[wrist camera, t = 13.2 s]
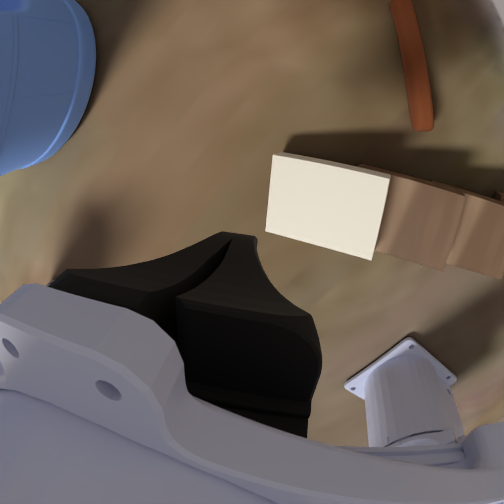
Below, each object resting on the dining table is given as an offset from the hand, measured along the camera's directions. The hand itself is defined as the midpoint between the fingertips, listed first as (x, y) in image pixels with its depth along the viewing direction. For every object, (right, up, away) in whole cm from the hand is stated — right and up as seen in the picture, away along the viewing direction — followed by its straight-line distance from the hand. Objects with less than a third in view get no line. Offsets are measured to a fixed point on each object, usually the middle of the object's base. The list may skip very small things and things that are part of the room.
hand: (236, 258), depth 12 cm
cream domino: (+2, +4, +8) cm, 10 cm away
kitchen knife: (+10, +15, +3) cm, 18 cm away
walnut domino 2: (+12, +3, +7) cm, 15 cm away
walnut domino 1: (+7, +3, +8) cm, 11 cm away
